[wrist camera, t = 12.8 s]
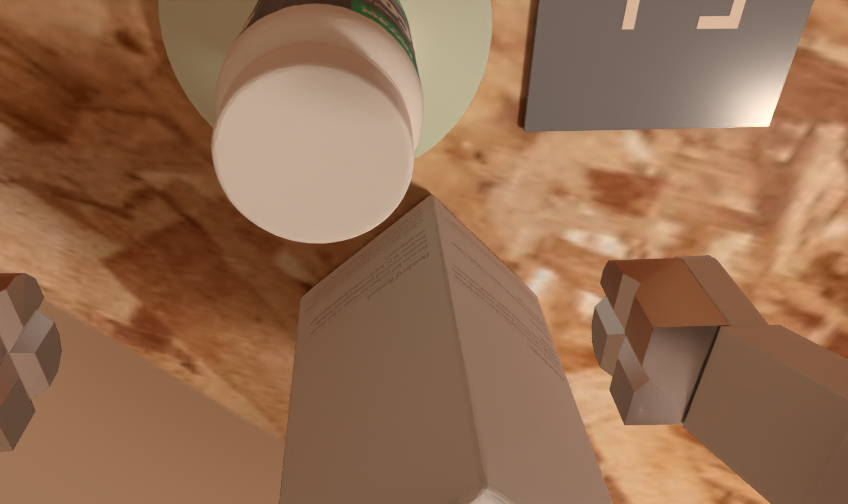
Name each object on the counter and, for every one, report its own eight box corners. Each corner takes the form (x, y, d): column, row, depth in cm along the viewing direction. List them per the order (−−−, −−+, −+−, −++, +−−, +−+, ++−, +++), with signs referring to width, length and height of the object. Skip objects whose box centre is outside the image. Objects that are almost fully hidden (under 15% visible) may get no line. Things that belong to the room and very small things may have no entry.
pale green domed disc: (478, 168, 23) (481, 176, 22) (198, 175, 22) (194, 183, 22) (502, -159, 17) (506, -158, 17) (125, -165, 16) (117, -164, 16)
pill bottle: (435, -2, 19) (479, 109, 12) (371, 131, 21) (376, 288, 14) (283, -80, 17) (234, -4, 10) (231, 73, 20) (163, 217, 13)
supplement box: (294, 295, 26) (251, 620, 15) (432, 187, 23) (491, 487, 13) (412, 383, 29) (441, 695, 19) (542, 297, 27) (656, 601, 17)
